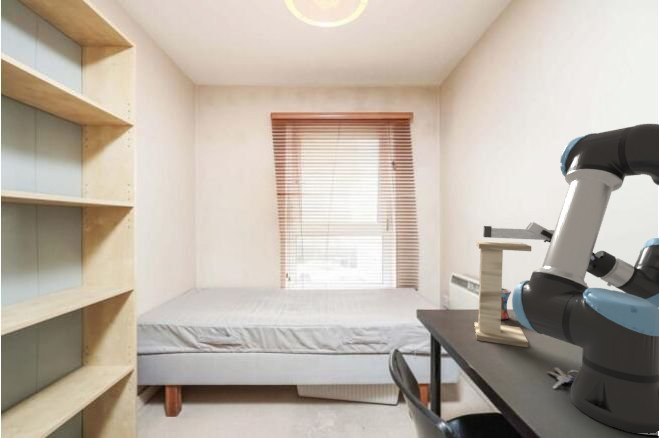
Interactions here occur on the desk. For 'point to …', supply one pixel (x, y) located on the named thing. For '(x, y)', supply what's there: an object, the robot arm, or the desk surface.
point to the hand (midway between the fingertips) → (529, 225)
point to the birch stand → (495, 295)
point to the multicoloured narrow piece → (504, 303)
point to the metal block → (511, 233)
